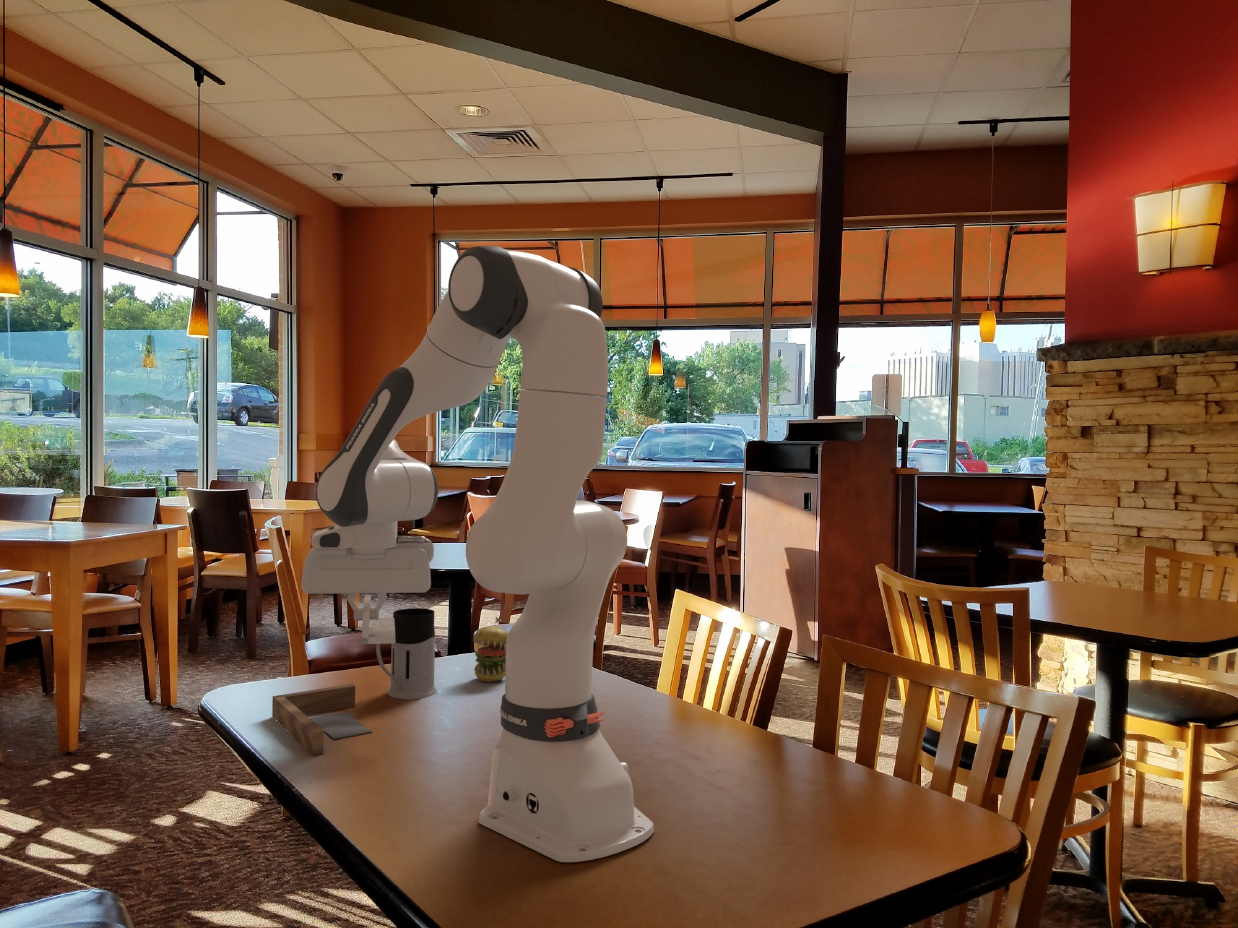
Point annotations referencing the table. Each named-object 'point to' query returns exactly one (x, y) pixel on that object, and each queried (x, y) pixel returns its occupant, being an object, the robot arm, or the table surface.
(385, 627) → the angle bracket
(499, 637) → the hamburger
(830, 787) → the table surface
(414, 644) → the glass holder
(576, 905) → the table surface
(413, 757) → the table surface
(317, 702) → the brown wooden l-shaped piece
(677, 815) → the table surface
